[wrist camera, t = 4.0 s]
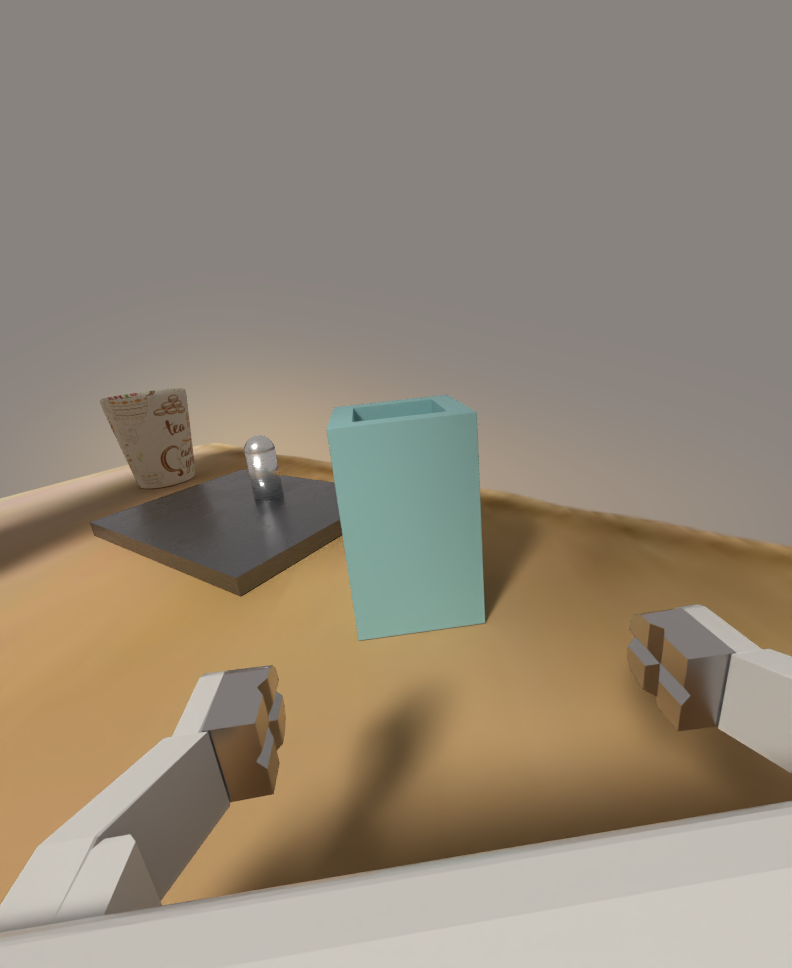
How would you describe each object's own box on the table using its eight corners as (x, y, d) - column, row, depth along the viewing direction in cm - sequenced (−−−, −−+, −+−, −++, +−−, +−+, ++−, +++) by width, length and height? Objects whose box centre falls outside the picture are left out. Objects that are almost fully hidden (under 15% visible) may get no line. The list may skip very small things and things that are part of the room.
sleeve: (485, 622, 21) (476, 412, 17) (358, 640, 20) (326, 429, 17) (457, 561, 26) (447, 394, 23) (358, 574, 26) (334, 407, 23)
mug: (153, 496, 45) (124, 399, 42) (95, 485, 52) (66, 401, 49) (220, 472, 52) (200, 387, 49) (161, 465, 59) (140, 390, 55)
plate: (240, 596, 25) (214, 491, 23) (94, 535, 36) (68, 461, 34) (391, 504, 36) (383, 428, 34) (244, 479, 48) (231, 421, 46)
